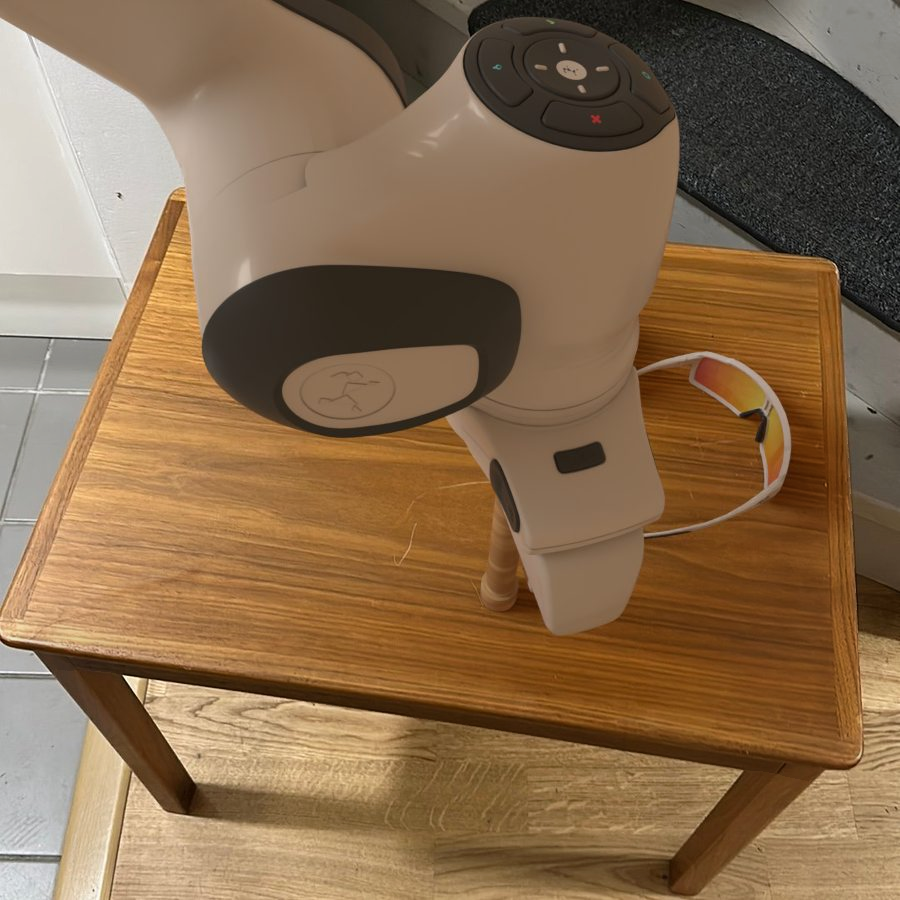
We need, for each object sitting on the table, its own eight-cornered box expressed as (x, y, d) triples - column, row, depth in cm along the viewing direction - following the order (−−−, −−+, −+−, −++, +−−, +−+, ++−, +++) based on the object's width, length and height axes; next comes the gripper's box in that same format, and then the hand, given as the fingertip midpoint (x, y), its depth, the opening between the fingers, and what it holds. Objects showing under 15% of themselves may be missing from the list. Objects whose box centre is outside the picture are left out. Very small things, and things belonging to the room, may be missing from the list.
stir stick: (486, 616, 65) (504, 471, 48) (475, 583, 66) (488, 431, 49) (521, 606, 65) (551, 459, 48) (509, 573, 66) (534, 419, 49)
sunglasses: (813, 500, 70) (829, 469, 65) (631, 574, 69) (634, 548, 64) (721, 359, 77) (729, 323, 72) (554, 425, 76) (552, 392, 71)
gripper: (407, 226, 48) (415, 383, 59) (541, 577, 37) (518, 683, 49) (522, 201, 49) (508, 361, 60) (684, 537, 38) (628, 650, 50)
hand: (513, 508), depth 55 cm, fingers open, 8 cm apart
